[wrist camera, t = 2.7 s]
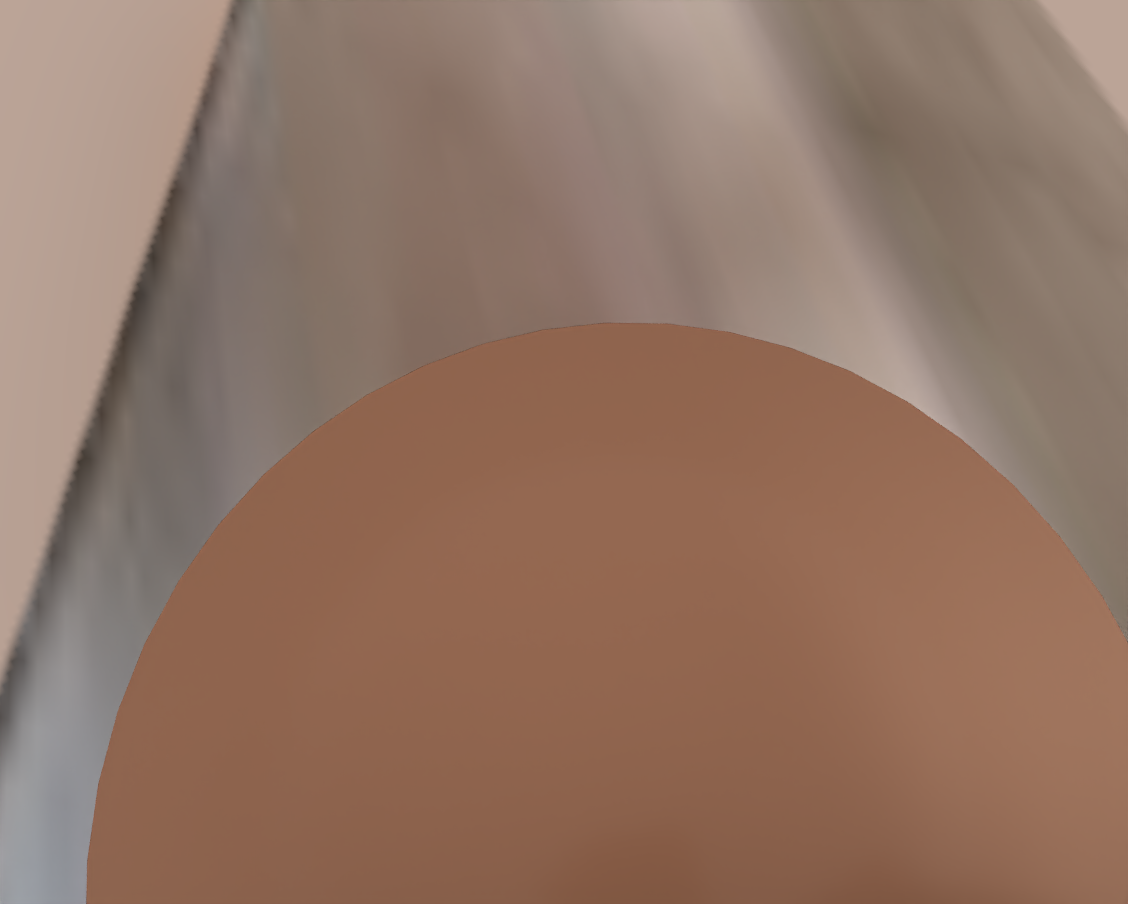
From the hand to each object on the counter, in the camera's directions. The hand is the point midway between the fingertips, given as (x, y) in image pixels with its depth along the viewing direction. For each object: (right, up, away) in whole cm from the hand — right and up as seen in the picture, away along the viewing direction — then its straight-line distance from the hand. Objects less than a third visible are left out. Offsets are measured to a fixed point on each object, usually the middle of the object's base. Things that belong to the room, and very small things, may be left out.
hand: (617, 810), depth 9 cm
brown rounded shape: (0, -2, +8) cm, 8 cm away
